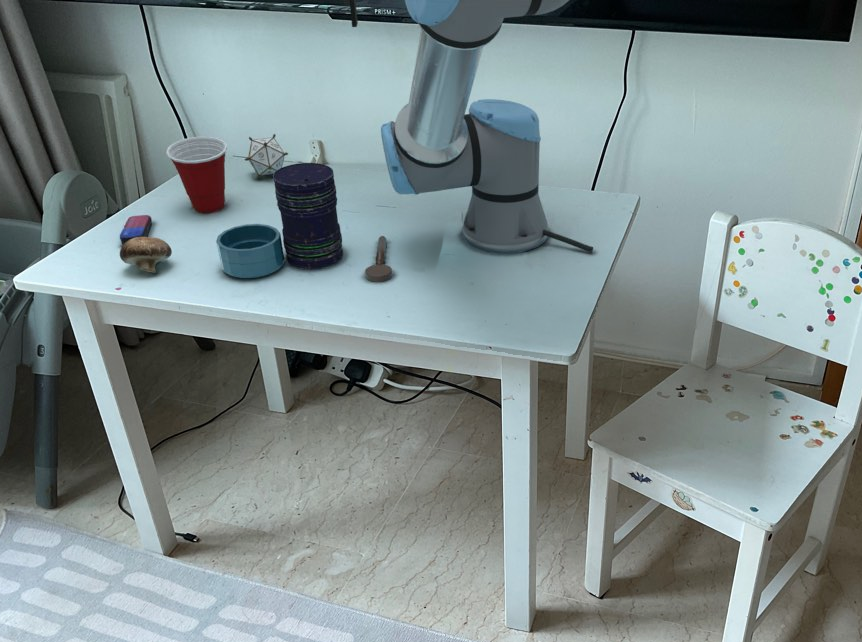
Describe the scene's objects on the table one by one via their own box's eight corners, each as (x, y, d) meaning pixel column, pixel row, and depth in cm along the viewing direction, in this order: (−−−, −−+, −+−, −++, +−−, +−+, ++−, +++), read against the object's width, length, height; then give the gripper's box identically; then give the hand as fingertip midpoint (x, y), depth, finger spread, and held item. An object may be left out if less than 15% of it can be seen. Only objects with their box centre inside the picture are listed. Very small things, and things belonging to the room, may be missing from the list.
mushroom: (150, 267, 144) (142, 229, 144) (114, 279, 147) (105, 242, 147) (185, 269, 152) (177, 233, 152) (150, 281, 155) (141, 246, 155)
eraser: (131, 222, 166) (128, 213, 165) (154, 220, 167) (151, 211, 166) (119, 247, 157) (117, 237, 156) (143, 245, 158) (141, 236, 157)
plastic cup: (178, 222, 166) (163, 159, 159) (181, 199, 175) (167, 139, 168) (238, 216, 168) (226, 154, 161) (238, 194, 177) (227, 134, 170)
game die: (276, 188, 189) (293, 143, 188) (280, 188, 181) (298, 142, 180) (234, 170, 185) (252, 124, 184) (237, 170, 177) (255, 122, 176)
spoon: (370, 242, 159) (369, 234, 158) (395, 241, 159) (394, 234, 159) (364, 282, 147) (364, 274, 146) (391, 281, 147) (391, 273, 146)
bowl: (295, 257, 154) (290, 227, 151) (266, 284, 146) (260, 253, 143) (242, 250, 157) (236, 220, 153) (211, 276, 149) (204, 246, 145)
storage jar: (281, 249, 157) (268, 167, 148) (337, 240, 160) (327, 159, 151) (291, 274, 149) (277, 189, 140) (349, 264, 152) (339, 180, 143)
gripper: (463, -122, 145) (467, 18, 157) (307, -121, 143) (323, 20, 156) (464, -117, 139) (468, 28, 151) (301, -115, 137) (319, 31, 150)
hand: (394, 24), depth 153 cm, fingers open, 13 cm apart
